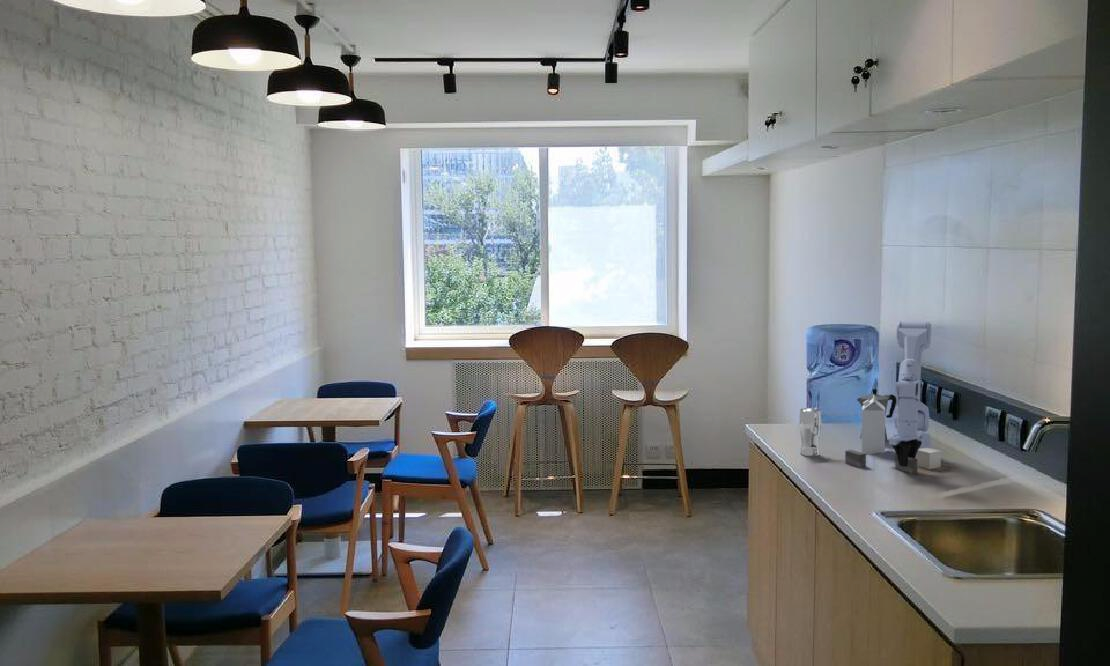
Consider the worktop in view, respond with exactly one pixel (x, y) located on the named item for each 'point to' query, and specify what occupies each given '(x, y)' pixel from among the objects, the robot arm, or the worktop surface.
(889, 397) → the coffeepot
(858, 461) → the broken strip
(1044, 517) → the worktop surface
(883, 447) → the milk carton
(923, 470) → the walnut strip
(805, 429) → the silver drinking tumbler
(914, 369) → the robot arm
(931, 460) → the ceramic block
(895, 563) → the worktop surface
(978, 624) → the worktop surface
